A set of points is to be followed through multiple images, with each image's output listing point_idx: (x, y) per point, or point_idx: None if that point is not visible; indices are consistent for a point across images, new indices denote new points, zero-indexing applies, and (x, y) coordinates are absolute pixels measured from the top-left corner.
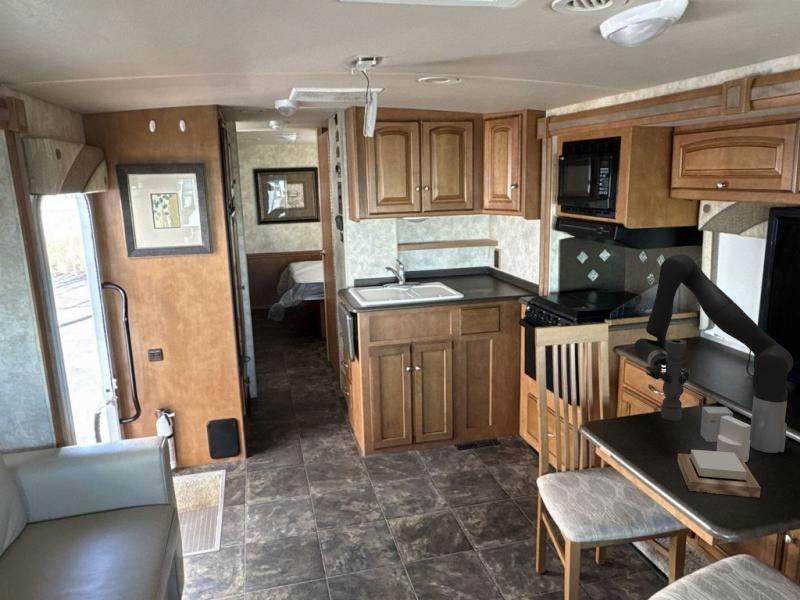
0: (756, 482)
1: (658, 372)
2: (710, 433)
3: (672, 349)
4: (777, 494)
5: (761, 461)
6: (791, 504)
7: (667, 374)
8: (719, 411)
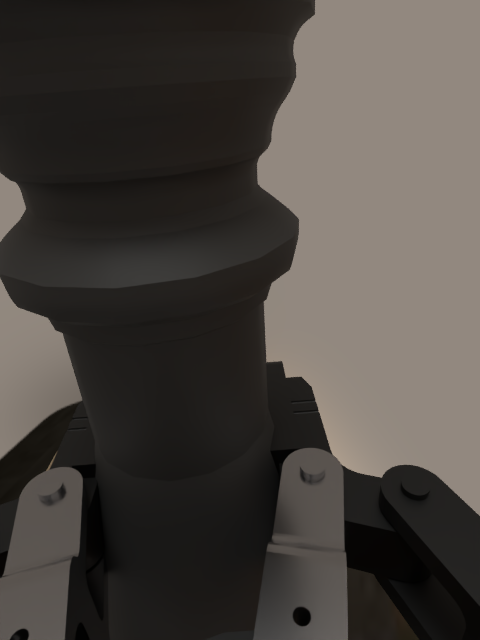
0: (50, 465)
1: (392, 468)
2: None
3: None
4: (6, 487)
5: None
6: (13, 450)
7: (270, 415)
8: None
